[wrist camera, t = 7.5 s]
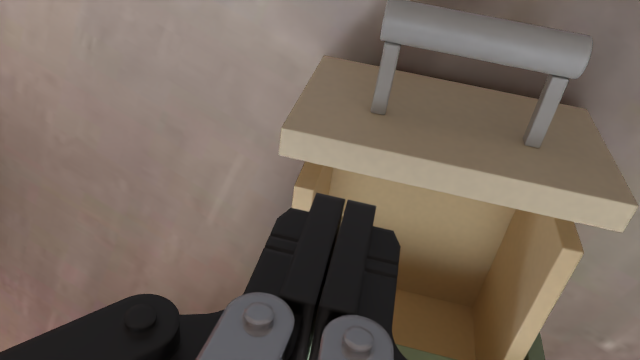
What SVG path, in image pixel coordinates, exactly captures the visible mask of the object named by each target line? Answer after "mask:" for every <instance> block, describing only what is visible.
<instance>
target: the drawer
mask: <svg viewBox="0 0 640 360" xmlns="http://www.w3.org/2000/svg"><path fill="white" fill-rule="evenodd" d="M380 40H382V41H385V44H384V48H383V53H382V58H381V63H380V67H379V66H374V65H369V64H364V63H359V62H354V61H349V60H345V59H340V58H335V57H330V56H325V55H324V56H323V58H322V60H321V61H320V63H319V65H318V66H317V68H316V70H315V71H314V73H313V75H312V77H311V78H310V80H309V82H308V83H307V85H306V87H305V88H304V90H303V92H302V94H301V95H300V97H299V99H298V100H297V102H296V104H295V106H294V107H293V109H292V111H291V112H290V114H289V116H288V117H287V119H286V121H285V123H284V124H283V126H282V128H281V135H280V145H279V155H280V156H284V157H288V158H293V159H297V160H302V161H305V163H304V165H303V168H302V170H301V172H300V174H299V177H298V179H297V181H296V183H295V185H294V192H293V199H292V207H291V208H295V209H299V210H303V211H308V212H309V211H310V208H311V206H312V203H313V200H314V198H315V195H316V193H321V194H325V195H330V196H334V197H339V198H343V199H345V205H344V210H343V215H344V211H345V207H346V204H347V200H353V201H357V202H362V203H366V204H371V205H375V206H376V211H375V217H374V222H373V226H375V227H379V228H384V229H388V230H392V231H394V233H395V235H396V237H397V240H398V242H399V244H400V246H401V248H400V257H399V265H398V266H399V267H398V276H397V286H396V295H395V305H394V314H393V324H392V334H393V339H394V342H395V344H398V345H402V346H406V347H410V348H414V349H418V350H422V351H425V352H429V353H433V354H437V355H441V356H445V357H449V358H453V359H457V360H524V358H525V356H526V355H527V353H528V351H529V349H530V348H531V346H532V344H533V342H534V341H535V339H536V337H537V335H538V334H539V332H540V330H541V328H542V326H543V325H544V323H545V321H546V319H547V318H548V316H549V314H550V312H551V311H552V309H553V307H554V305H555V304H556V302H557V300H558V298H559V297H560V295H561V293H562V291H563V289H564V288H565V286H566V284H567V282H568V281H569V279H570V277H571V275H572V274H573V272H574V270H575V268H576V267H577V265H578V263H579V261H580V259H581V258H582V256H583V254H584V251H583V248H582V245H581V242H580V239H579V236H578V233H577V230H576V227H575V224H574V222H577V223H581V224H585V225H590V226H594V227H599V228H603V229H608V230H612V231H616V232H621V233H623V231H624V230H625V228H626V227H627V225H628V223H629V222H630V220H631V218H632V217H633V215H634V213H635V212H636V210H637V208H638V204H637V202H636V200H635V198H634V196H633V195H632V193H631V191H630V189H629V187H628V185H627V183H626V182H625V180H624V178H623V176H622V174H621V172H620V170H619V169H618V167H617V165H616V163H615V161H614V159H613V157H612V156H611V154H610V152H609V150H608V148H607V146H606V144H605V143H604V141H603V139H602V137H601V135H600V133H599V131H598V129H597V128H596V126H595V124H594V122H593V120H592V118H591V116H590V115H589V113H588V111H587V109H584V108H579V107H574V106H569V105H564V104H559V102H560V100H561V98H562V96H563V93H564V91H565V89H566V86H567V84H568V82H569V79H568V78H572V79H577V78H579V77H580V76H581V75H582V73H583V72H584V70H585V68H586V67H587V64H588V62H589V59H590V56H591V52H592V46H593V40H592V37H591V36H589V35H585V34H579V33H574V32H569V31H564V30H558V29H553V28H548V27H543V26H538V25H532V24H527V23H522V22H517V21H511V20H506V19H501V18H496V17H491V16H485V15H480V14H475V13H470V12H464V11H459V10H454V9H449V8H444V7H438V6H433V5H428V4H423V3H417V2H412V1H407V0H388V1H387V5H386V9H385V14H384V18H383V23H382V28H381V33H380ZM401 44H402V45H407V46H412V47H417V48H422V49H427V50H432V51H437V52H442V53H447V54H452V55H457V56H462V57H467V58H472V59H477V60H482V61H487V62H492V63H497V64H502V65H507V66H512V67H517V68H522V69H527V70H532V71H537V72H542V73H547V74H549V75H548V77H547V80H546V82H545V85H544V87H543V90H542V92H541V95H540V97H539V99H535V98H530V97H525V96H520V95H515V94H511V93H506V92H501V91H496V90H491V89H486V88H481V87H476V86H472V85H467V84H462V83H457V82H452V81H447V80H442V79H437V78H432V77H428V76H423V75H418V74H413V73H408V72H403V71H398V70H396V65H397V61H398V57H399V52H400V48H401ZM343 215H342V218H343ZM341 222H342V220H341Z"/></svg>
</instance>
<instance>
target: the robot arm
mask: <svg viewBox="0 0 640 360" xmlns="http://www.w3.org/2000/svg"><path fill="white" fill-rule="evenodd" d="M344 205H345V199H343V198H339V197H334V196H330V195H325V194H321V193H316V195H315V198H314V200H313V203H312V206H311V208H310V211H309V212H308V211H303V210H299V209H295V208H290V209H289V210H288V211H286V212H285V213H284V214H283V215H281V216H280V217H279V218H277V220H276V223H275V225H274V227H273V229H272V232H271V235H270V236H269V238H268V240H267V243H266V245H265V248H264V249H263V252H262V254H261V256H260V258H259V261H258V263H257V265H256V267H255V270H254V272H253V274H252V276H251V278H250V281H249V283H248V285H247V287H246V290H245V292H244V293H243V295H241V296H239V297H237V298H236V299H234V300H233V301H231V302H230V303H229V304H228V306H227V307H226V308H225V309H224V310H222V311H219V312H215V313H210V314H191V315H179V312H178V309H177V308H176V306H175V305H174V304H173V303H172V302H171V301H170V300H168V299H166V298H164V297H162V296H158V295H153V294H140V295H135V296H131V297H128V298H125V299H123V300H120V301H118V302H116V303H113V304H111V305H109V306H107V307H104V308H102V309H100V310H97V311H95V312H93V313H90V314H88V315H86V316H83V317H81V318H79V319H76V320H74V321H72V322H69V323H67V324H65V325H62V326H60V327H58V328H56V329H53V330H51V331H49V332H46V333H44V334H42V335H39V336H37V337H35V338H32V339H30V340H28V341H25V342H23V343H21V344H18V345H16V346H14V347H11V348H9V349H7V350H5V351H2V352H0V360H307V359H308V356H309V352H310V357H309V360H407V359H406V358H405V357H404V356H403V355H402V353H401V352H400V351H399V349H398V348H397V346H396V344H395V342H394V339H393V334H392V324H393V314H394V305H395V295H396V286H397V276H398V267H399V266H398V265H399V257H400V248H401V246H400V244H399V242H398V240H397V237H396V235H395V233H394V231H392V230H388V229H384V228H379V227H375V226H373V222H374V217H375V211H376V206H375V205H371V204H366V203H362V202H357V201H353V200H347V204H346V207H345V211H344V215H343V210H344ZM342 215H343V218H342ZM341 220H342V222H341ZM311 344H312V346H311ZM310 348H311V351H310Z"/></svg>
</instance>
